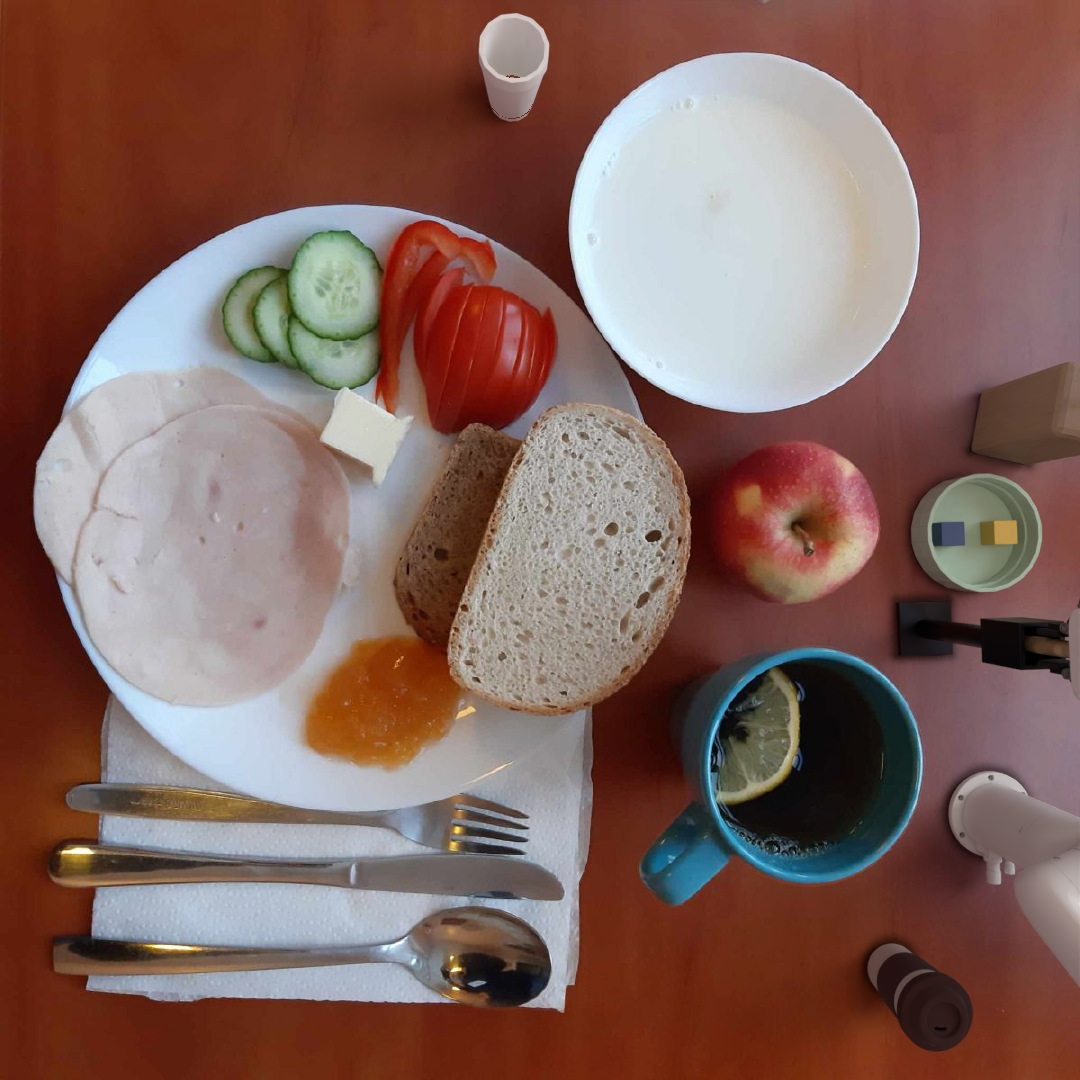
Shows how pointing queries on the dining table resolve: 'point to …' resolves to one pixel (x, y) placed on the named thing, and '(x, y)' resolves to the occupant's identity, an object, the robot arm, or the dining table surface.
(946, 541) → the navy block
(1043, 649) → the stick
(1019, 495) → the bowl
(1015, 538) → the mustard block
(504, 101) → the foam cup
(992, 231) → the dining table surface
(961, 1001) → the coffee cup
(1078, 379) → the wooden block
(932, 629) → the holder
